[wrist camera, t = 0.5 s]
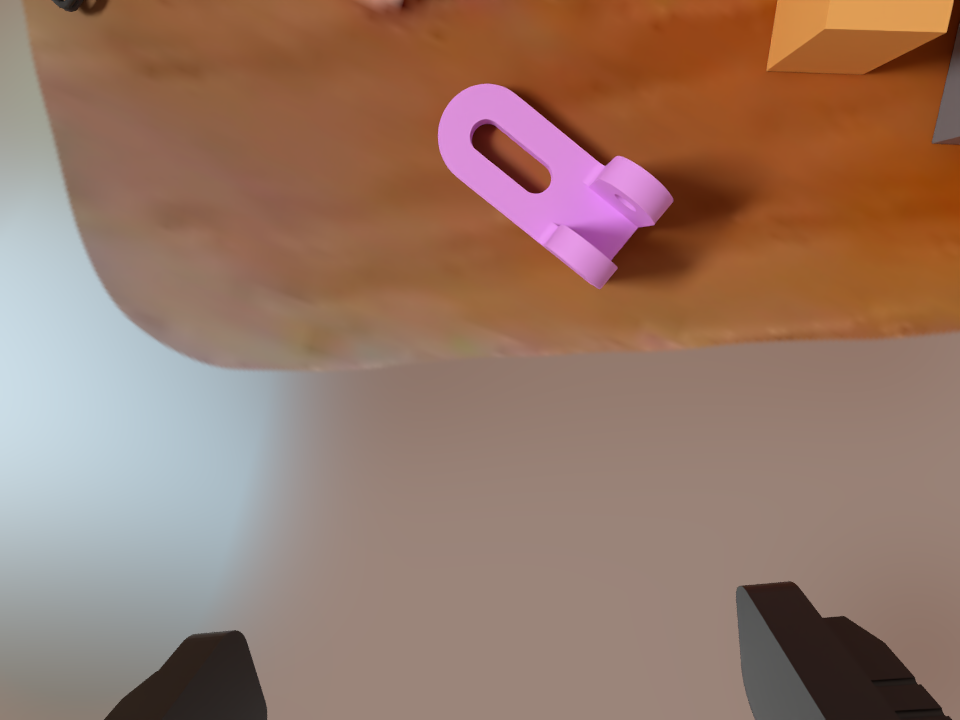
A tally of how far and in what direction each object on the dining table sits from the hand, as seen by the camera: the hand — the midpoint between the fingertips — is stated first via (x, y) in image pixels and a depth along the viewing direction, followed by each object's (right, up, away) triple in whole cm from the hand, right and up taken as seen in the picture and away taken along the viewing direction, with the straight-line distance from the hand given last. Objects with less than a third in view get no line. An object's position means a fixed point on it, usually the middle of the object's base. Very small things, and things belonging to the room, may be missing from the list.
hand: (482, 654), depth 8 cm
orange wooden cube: (+19, +23, +21) cm, 36 cm away
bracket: (+3, +16, +24) cm, 29 cm away
